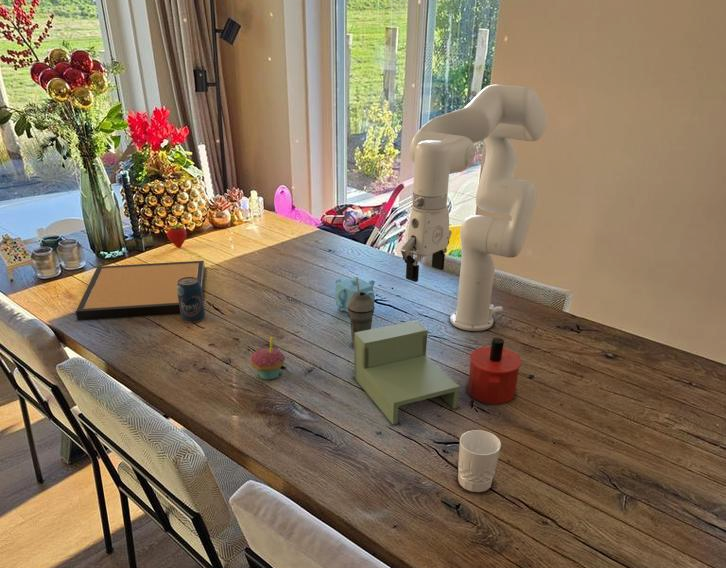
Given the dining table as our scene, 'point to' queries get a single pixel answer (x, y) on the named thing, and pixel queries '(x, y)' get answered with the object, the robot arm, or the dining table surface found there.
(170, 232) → the strawberry
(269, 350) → the cupcake
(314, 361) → the dining table surface
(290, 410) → the dining table surface
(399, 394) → the green step stand
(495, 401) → the pot
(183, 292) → the soda can
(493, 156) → the robot arm
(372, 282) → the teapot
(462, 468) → the white cup
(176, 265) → the cork board
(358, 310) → the beverage cup
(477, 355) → the lid
